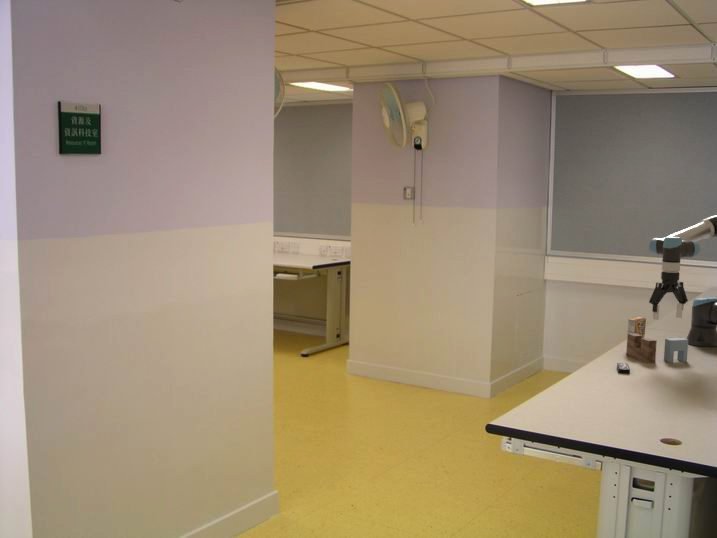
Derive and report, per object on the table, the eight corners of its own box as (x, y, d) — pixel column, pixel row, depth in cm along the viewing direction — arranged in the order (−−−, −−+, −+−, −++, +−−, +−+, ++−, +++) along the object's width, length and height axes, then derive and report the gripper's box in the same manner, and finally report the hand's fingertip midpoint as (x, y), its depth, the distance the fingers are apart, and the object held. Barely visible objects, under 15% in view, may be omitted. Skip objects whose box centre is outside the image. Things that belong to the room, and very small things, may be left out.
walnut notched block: (634, 354, 367) (635, 333, 365) (655, 362, 351) (656, 340, 350) (626, 354, 366) (627, 333, 364) (647, 363, 350) (648, 340, 349)
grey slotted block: (681, 359, 358) (682, 337, 357) (686, 361, 354) (688, 339, 353) (663, 360, 356) (665, 338, 355) (669, 362, 352) (670, 340, 351)
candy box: (636, 348, 380) (638, 316, 378) (644, 349, 377) (646, 318, 375) (626, 350, 375) (627, 318, 373) (634, 352, 372) (635, 320, 370)
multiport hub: (618, 374, 332) (619, 368, 331) (616, 368, 342) (617, 362, 342) (629, 375, 331) (630, 369, 330) (627, 368, 341) (627, 363, 341)
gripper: (685, 269, 361) (682, 315, 364) (642, 271, 351) (639, 318, 354) (698, 271, 354) (694, 318, 357) (655, 273, 345) (651, 321, 347)
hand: (667, 318), depth 355 cm, fingers open, 13 cm apart
